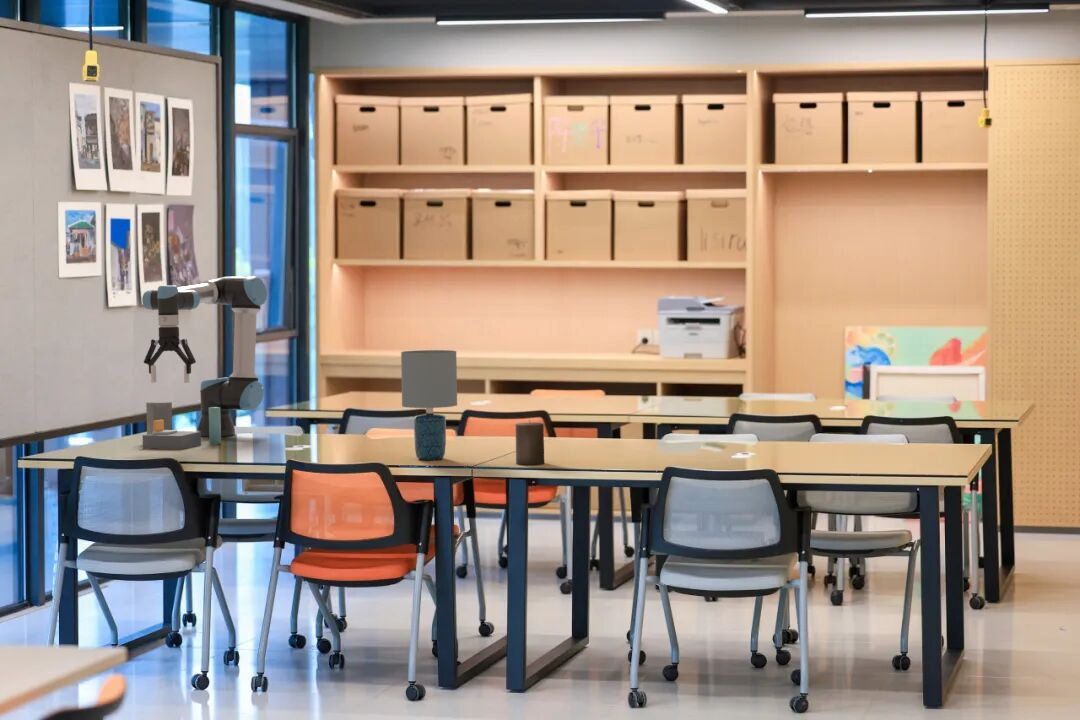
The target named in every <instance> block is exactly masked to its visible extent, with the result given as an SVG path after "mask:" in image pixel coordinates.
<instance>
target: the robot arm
mask: <svg viewBox="0 0 1080 720" xmlns="http://www.w3.org/2000/svg"><path fill="white" fill-rule="evenodd" d="M267 298H268V291H267V287H266V284H265V283H264V281H263V280H262V279H261V278H260V277H258V276H253V275H252V276H251V275H243V276H242V275H241V276H239V275H238V276H222V277H218V278H213V279H210V280H204V281H202V282H201V283H200V284H194V285H193V284H191V285H186V286H179V287H178V286H177V285H176V284H175V285H159V286H158V287H157V289H156V290H154V289H152V290H146V291H145V292H143V294H142V297H141V300H142V302H141V303H142V306H143V307H144V308H145V309H146V310H152V311H155V310H156V311H157V310H158V311H157V312H158V313H157V317H158V319H157V321H158V326H159V327H158V339H156V338H154V339H153V338H152V339H151V340H150V346H149V348H148V350H147V353H146V355H145V358H144V360H143V364H146V365H148V374H150V380H151V381H150V383H152V384H154V383H157V365H156V364H155V363H156V362H157V360H158V359H160V357H161V355H162V354H163V353H164V352H173V351H174V352H175V353H176V354H177V356H178V357H179V358H180V359H181V360H182V362H183V363H184V365H183V377H184V378H183V379H184V384H187V383H190V374H192V365H194V364H196V363H197V361H196V358H195V356H194V354H193V353H192V350H191V349H190V347H189V344H188V339H187V338H182V339H180V327H179V324H180V321H179V320H180V319H179V311H185V310H187V311H191V310H194V309H197V308H198V307H199V305H200V304H206V305H226V306H231V307H230V308H231V310H232V311H233V313H234V333H233V334H234V335H233V336H234V337H233V365H232V366H233V367H232V373H231V374H230V375H229V376H228V377H220V378H211V379H204V380H202V381H201V383H200V391H199V392H200V415H201V416H200V420H199V423H198V425H197V431H196V432H201V437H209V408H210V407H220V416H221V437H228V436H234V435H235V434H236V428H235V425H234V421H233V419H232V416H231V411H232V410H233V411H245V412H246V411H253V410H254V411H255V410H256V409H257V408H259V407H260V405H261V404H262V403H263V400H264V395H265V390H264V386H263V384H262V383H261V382H260V381H259V376H258V375H257V374H256V373H255V372H256V371H255V367H256V344H257V343H256V340H257V337H256V336H257V315H258V313H259V312H260V311H261V306H262V305H264V304H266V301H267ZM158 345H159V347H158V348H157V346H158ZM179 345H181V346H182V348H181V347H180V346H179ZM156 348H157V351H155V350H156ZM182 349H183V350H182ZM154 352H155V353H154Z"/></svg>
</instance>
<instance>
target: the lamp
mask: <svg viewBox="0 0 1080 720" xmlns="http://www.w3.org/2000/svg"><path fill="white" fill-rule="evenodd" d="M400 357H401V358H400V360H401V361H400V362H401V363H400V364H401V365H400V367H401V370H400V371H401V406H402V407H403V408H413V409H422V408H423V409H425V413H423V414H419V415H414V417H413V431H414V432H413V434H414V437H413V438H414V450H415V451H414V452H415V456H416V458H417V459H418V460H420V459H421V461H437V460H442V459H443V458H445V453H446V443H447V441H446V440H447V421H446V416H445V415H443V414H438V413H434V409H436V408H437V409H438V408H439V409H442V408H450V407H451V408H452V407H455V406H458V381H457V380H458V379H457V378H458V376H457V373H458V372H457V367H458V366H457V350H452V349H450V350H449V349H448V350H444V349H441V350H439V349H433V350H432V349H431V350H429V349H428V350H427V349H426V350H423V349H421V350H407V351H406V350H405V351H401V352H400Z"/></svg>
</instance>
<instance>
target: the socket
mask: <svg viewBox="0 0 1080 720" xmlns="http://www.w3.org/2000/svg"><path fill="white" fill-rule="evenodd" d="M141 436H142V449H145V448H167V449H166V450H184V449H188V447H189V448H191V447H192V446H193V447H196V446H201V445H202V436H201V432H197V431H187V430H186V431H185V430H184V431H181V430H180V431H178V430H177V432H176V433H171V434H152V433H151V434H147V433H146V434H143V435H141Z"/></svg>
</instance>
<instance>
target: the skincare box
mask: <svg viewBox="0 0 1080 720" xmlns="http://www.w3.org/2000/svg"><path fill="white" fill-rule="evenodd" d="M145 405H146V406H145V407H146V434H151V433H152V432H153V421H156V420H164V430H173V407H172V406H173V403H172V401H169V402H168V401H167V402H166V401H165V402H164V401H156V402H154V401H153V402H146V403H145Z"/></svg>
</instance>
